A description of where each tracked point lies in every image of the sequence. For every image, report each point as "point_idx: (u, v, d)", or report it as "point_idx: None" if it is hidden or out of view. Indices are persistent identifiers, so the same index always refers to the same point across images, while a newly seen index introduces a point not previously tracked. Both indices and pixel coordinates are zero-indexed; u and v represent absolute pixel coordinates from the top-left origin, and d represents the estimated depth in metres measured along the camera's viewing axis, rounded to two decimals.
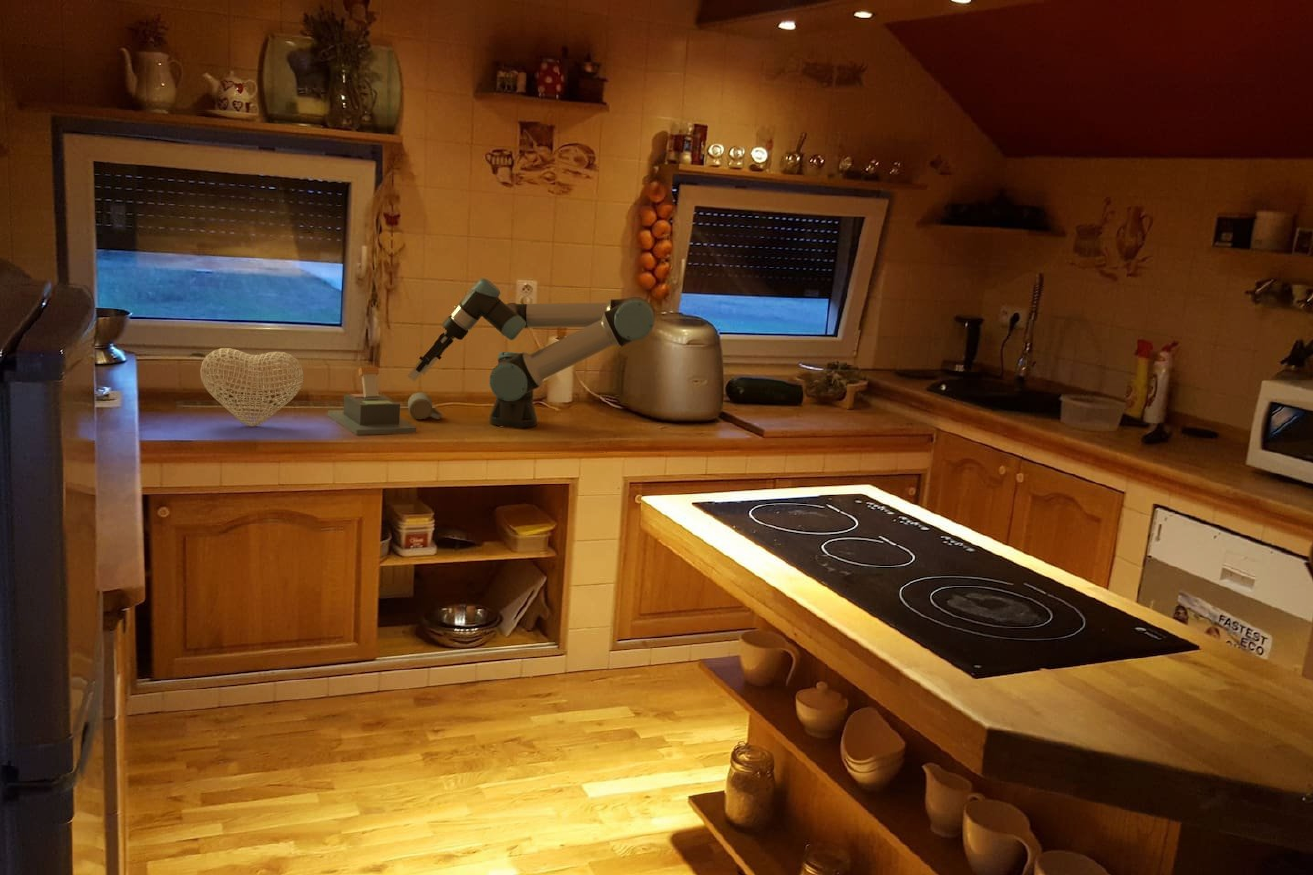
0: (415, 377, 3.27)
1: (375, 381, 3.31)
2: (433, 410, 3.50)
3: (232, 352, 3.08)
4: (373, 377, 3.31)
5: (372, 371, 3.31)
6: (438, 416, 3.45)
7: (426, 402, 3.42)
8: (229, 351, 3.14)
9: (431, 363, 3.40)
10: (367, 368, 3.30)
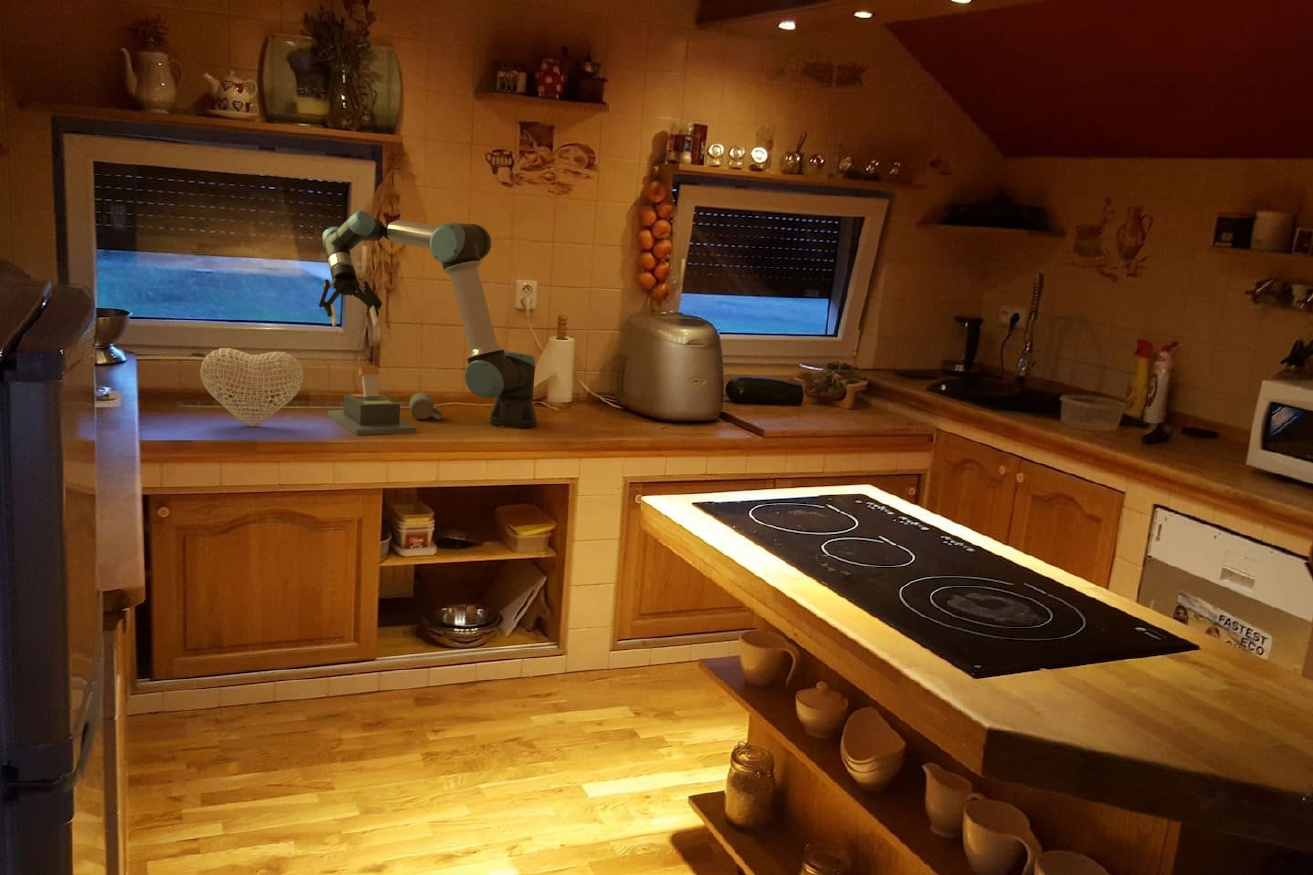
0: (333, 319, 3.37)
1: (375, 381, 3.31)
2: (434, 410, 3.50)
3: (232, 352, 3.08)
4: (373, 377, 3.31)
5: (372, 371, 3.31)
6: (439, 416, 3.46)
7: (427, 402, 3.42)
8: (229, 351, 3.14)
9: (372, 312, 3.45)
10: (367, 368, 3.30)
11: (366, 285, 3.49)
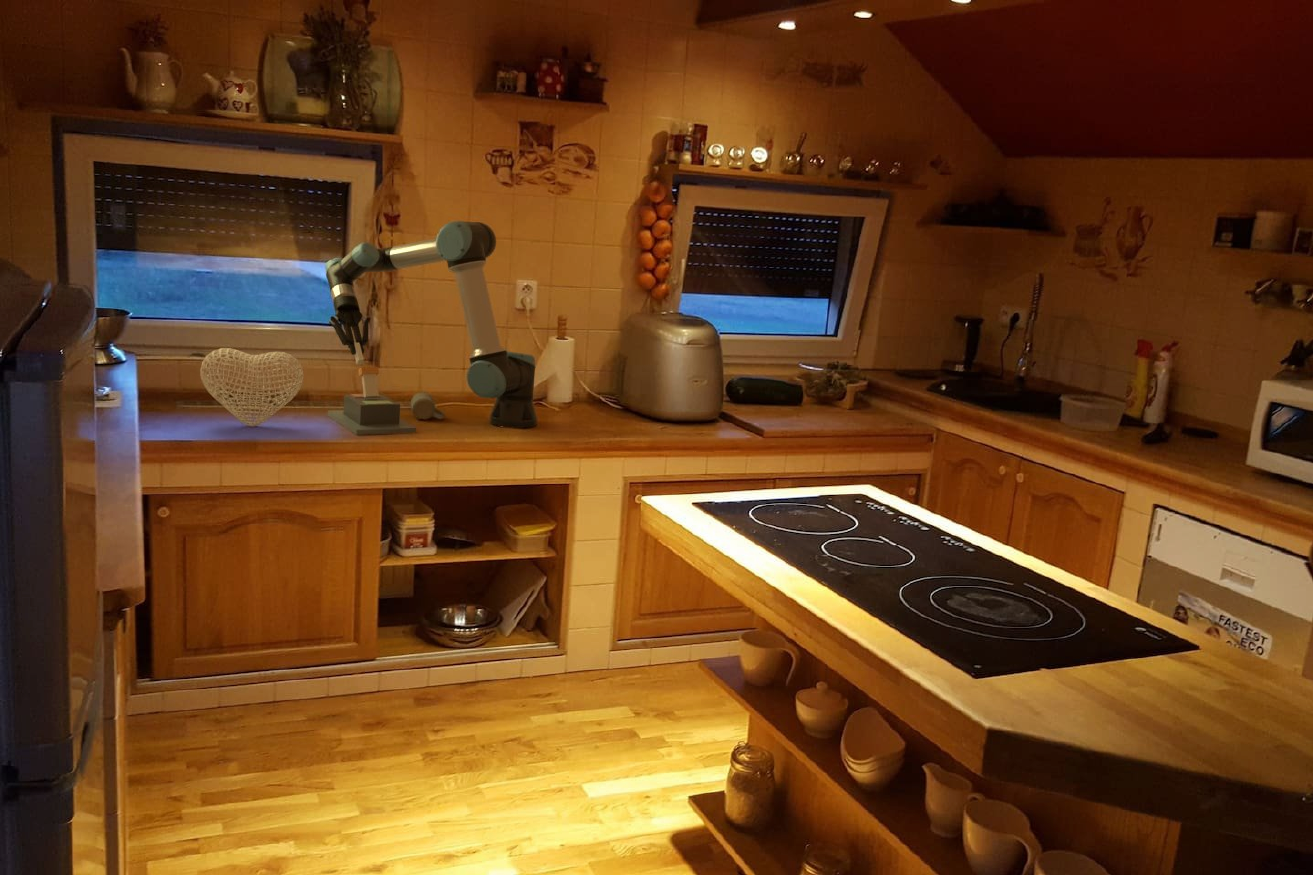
0: (357, 357, 3.37)
1: (375, 381, 3.31)
2: (436, 410, 3.50)
3: (232, 352, 3.08)
4: (373, 377, 3.31)
5: (372, 371, 3.31)
6: (441, 416, 3.46)
7: (429, 402, 3.42)
8: (229, 351, 3.14)
9: None
10: (367, 368, 3.30)
11: (366, 320, 3.46)
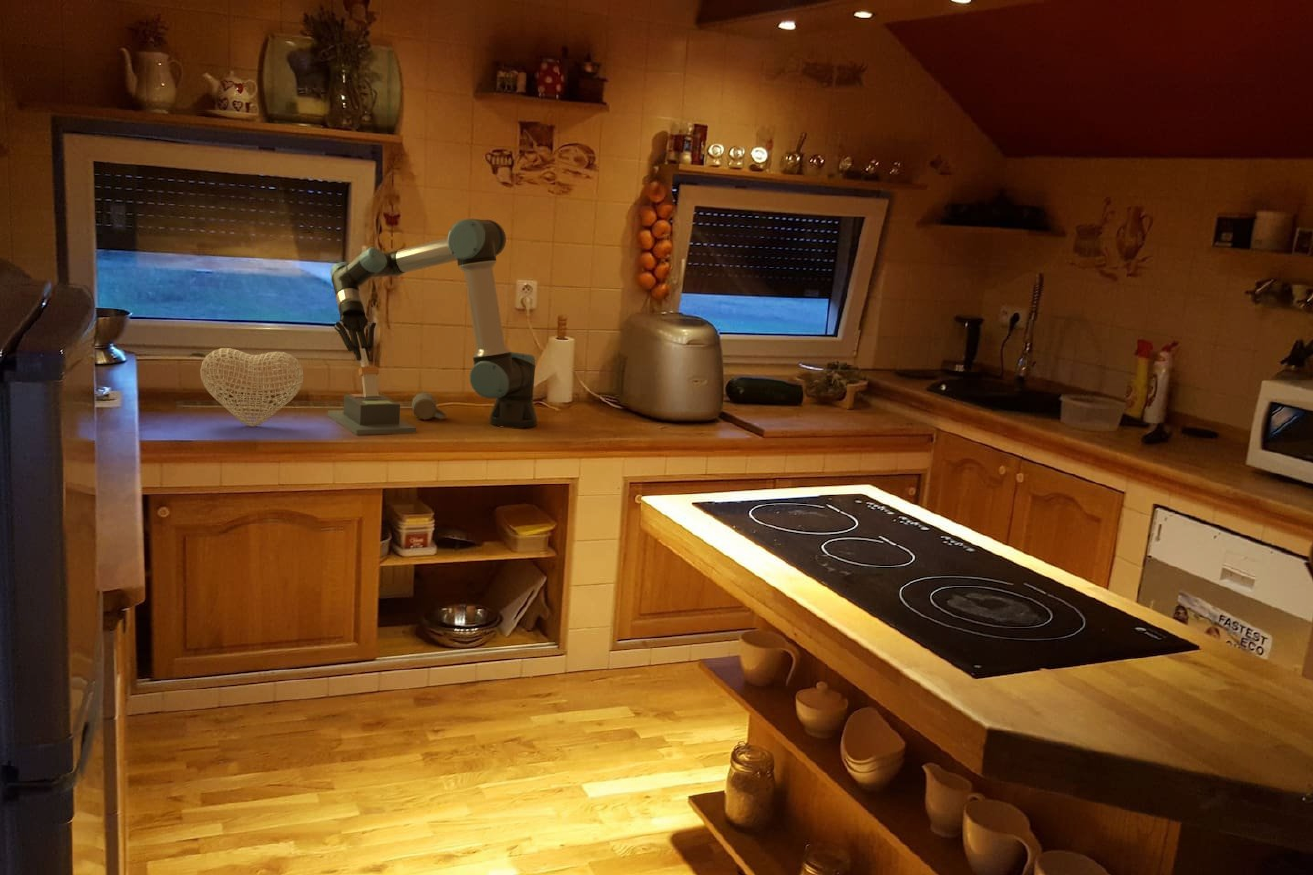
0: (363, 363, 3.33)
1: (375, 381, 3.31)
2: (437, 410, 3.50)
3: (232, 352, 3.08)
4: (373, 377, 3.31)
5: (372, 371, 3.31)
6: (442, 416, 3.46)
7: (430, 402, 3.42)
8: (229, 351, 3.14)
9: None
10: (367, 368, 3.30)
11: (372, 326, 3.41)
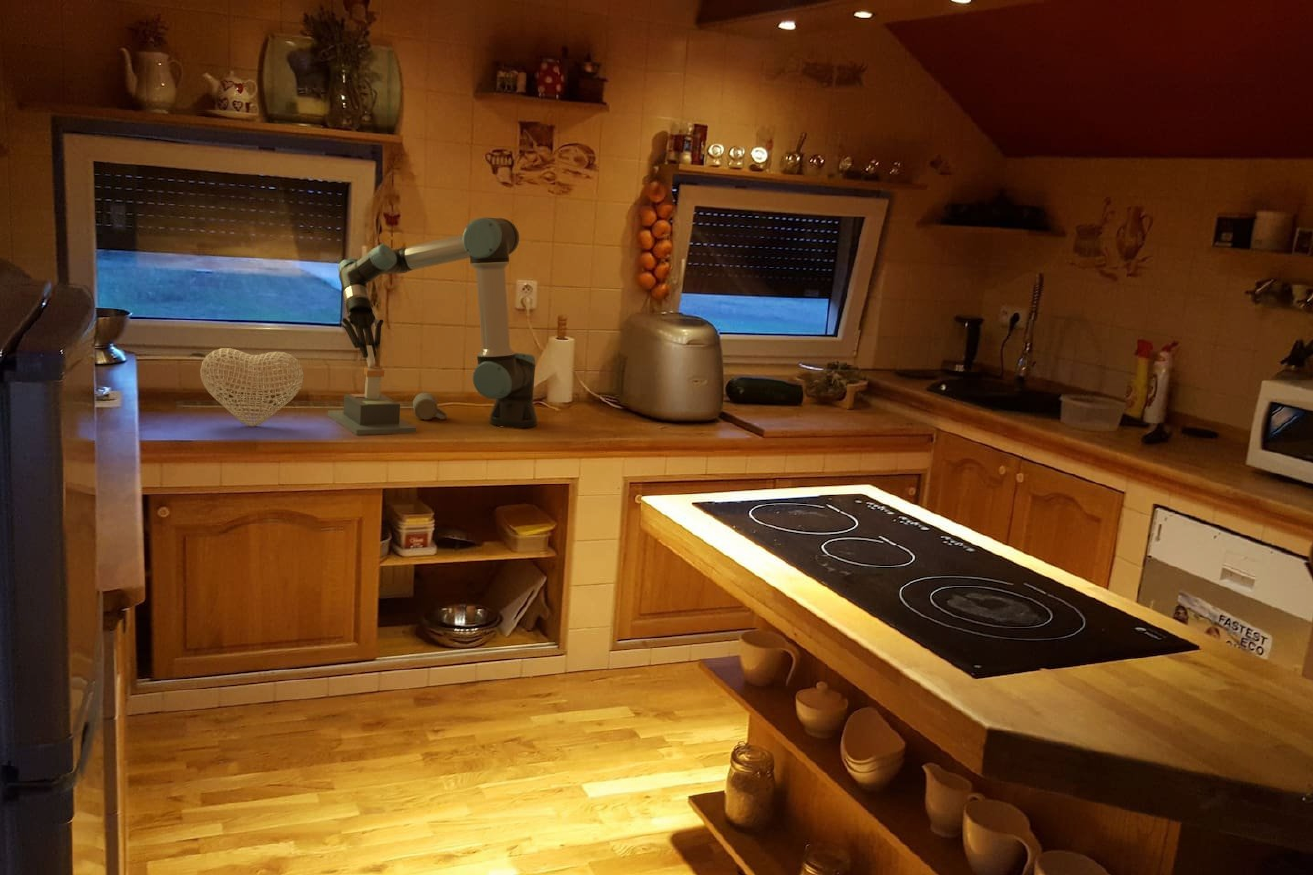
0: (369, 360, 3.28)
1: (378, 383, 3.29)
2: (438, 410, 3.50)
3: (232, 352, 3.08)
4: (377, 379, 3.28)
5: (377, 374, 3.27)
6: (443, 416, 3.46)
7: (431, 402, 3.42)
8: (229, 351, 3.14)
9: None
10: (373, 371, 3.26)
11: (379, 323, 3.37)
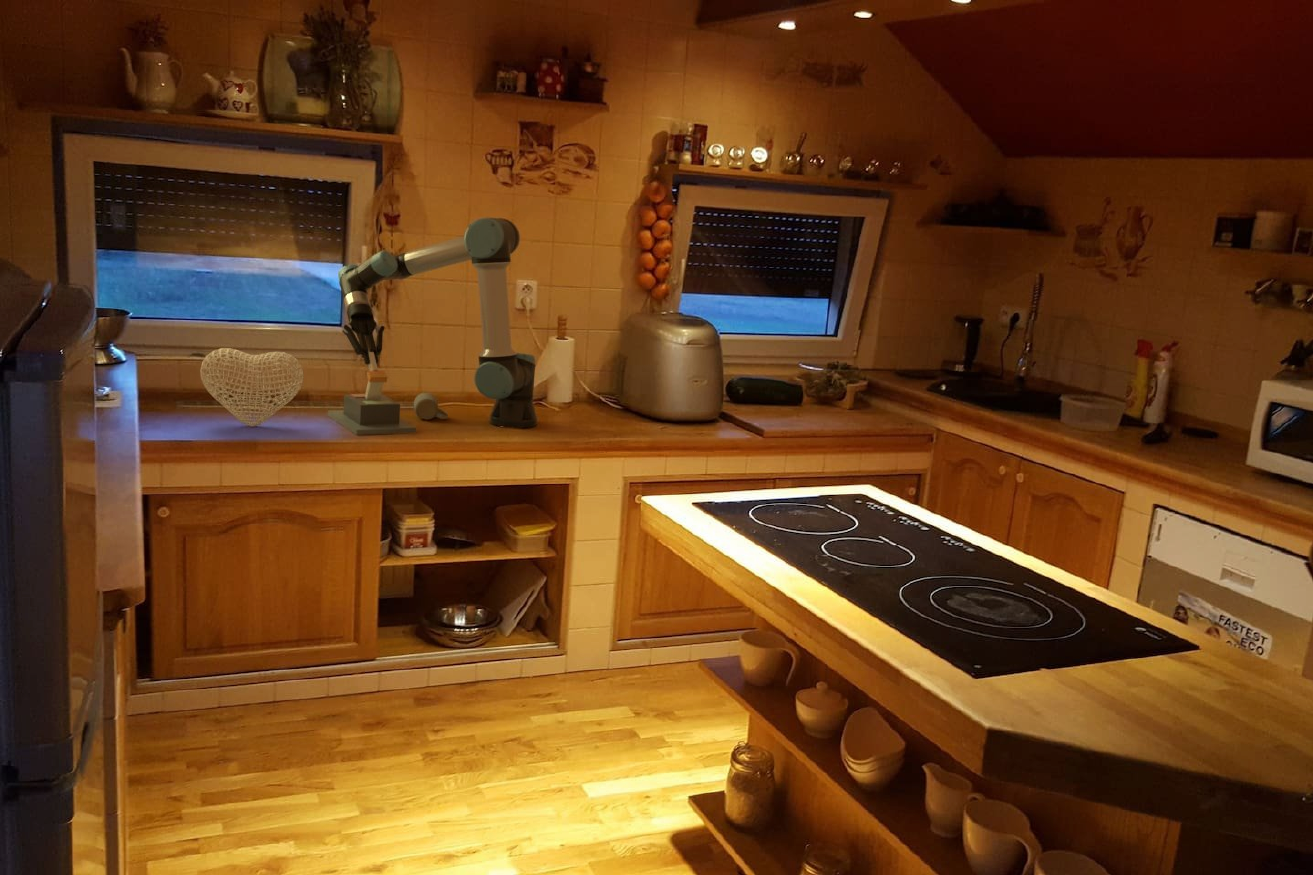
0: (371, 367, 3.26)
1: (380, 387, 3.28)
2: (439, 410, 3.50)
3: (232, 352, 3.08)
4: (379, 384, 3.27)
5: (380, 380, 3.25)
6: (444, 416, 3.46)
7: (432, 402, 3.42)
8: (229, 351, 3.14)
9: None
10: (376, 378, 3.24)
11: (380, 329, 3.35)
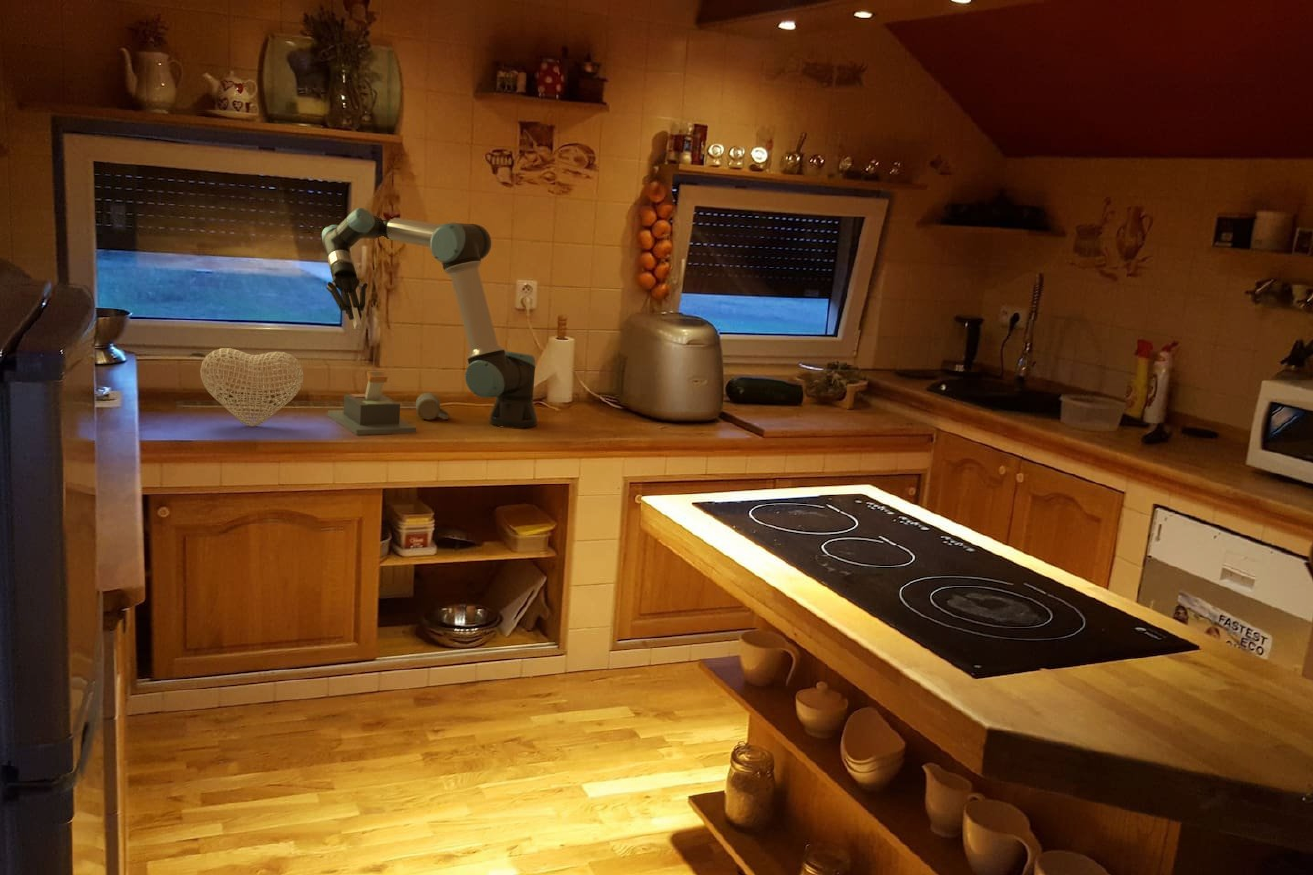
0: (355, 322, 3.38)
1: (380, 387, 3.28)
2: (441, 410, 3.50)
3: (232, 352, 3.08)
4: (379, 384, 3.27)
5: (380, 380, 3.25)
6: (446, 416, 3.46)
7: (434, 402, 3.43)
8: (229, 351, 3.14)
9: None
10: (376, 378, 3.24)
11: (363, 286, 3.47)
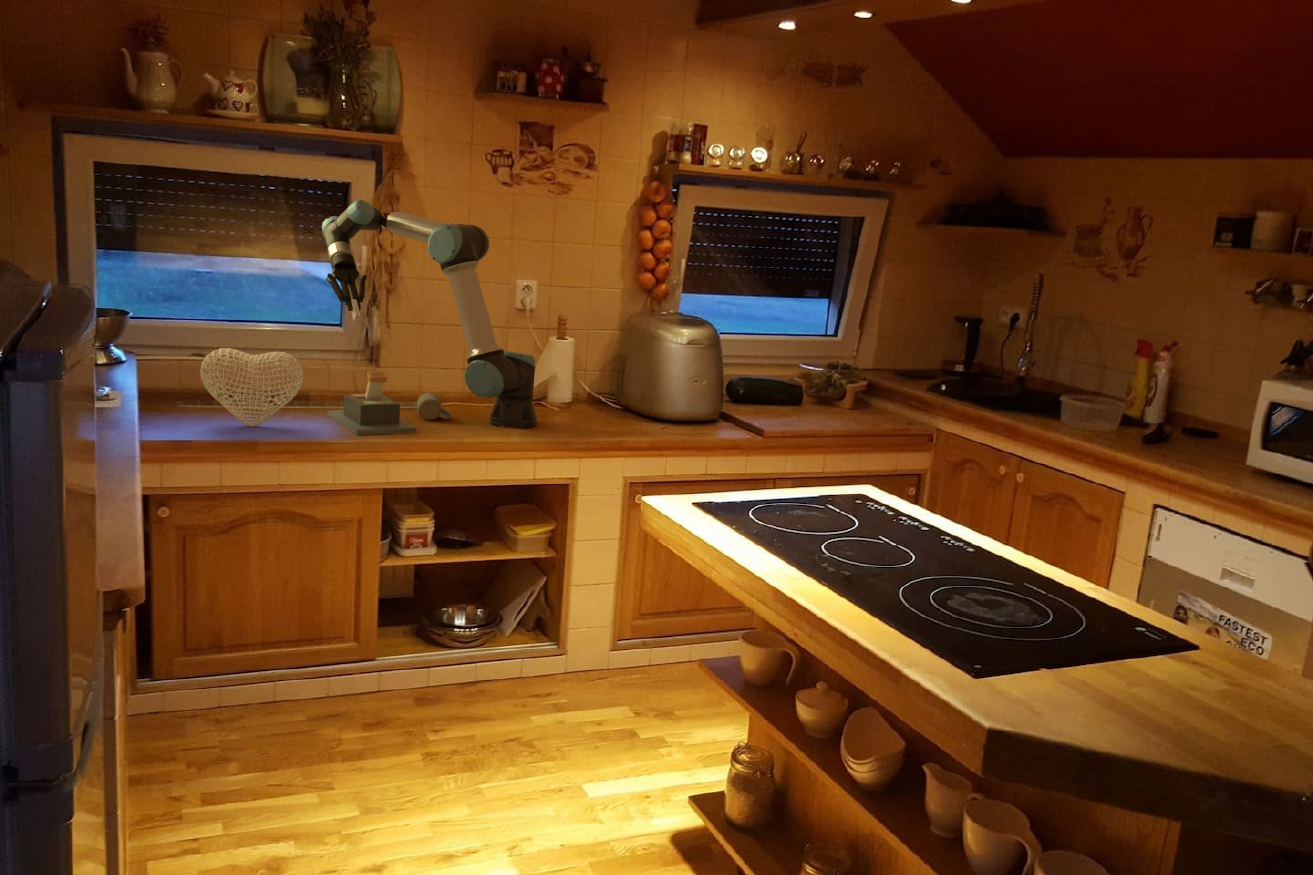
0: (354, 313, 3.39)
1: (380, 387, 3.28)
2: (442, 410, 3.50)
3: (232, 352, 3.08)
4: (379, 384, 3.27)
5: (380, 380, 3.25)
6: (447, 416, 3.46)
7: (435, 402, 3.43)
8: (229, 351, 3.14)
9: None
10: (376, 378, 3.24)
11: (363, 278, 3.47)
